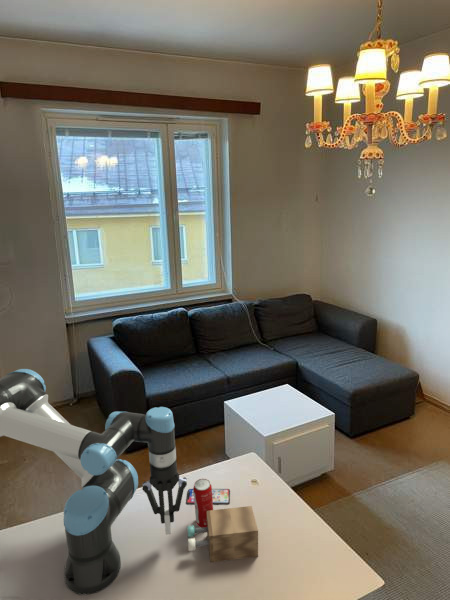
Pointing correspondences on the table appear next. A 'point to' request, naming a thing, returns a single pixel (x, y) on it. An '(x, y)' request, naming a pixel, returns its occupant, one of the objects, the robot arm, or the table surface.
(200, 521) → the beverage can
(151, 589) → the table surface
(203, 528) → the teal knob
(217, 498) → the smartphone
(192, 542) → the cream knob
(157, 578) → the table surface
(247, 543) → the console
